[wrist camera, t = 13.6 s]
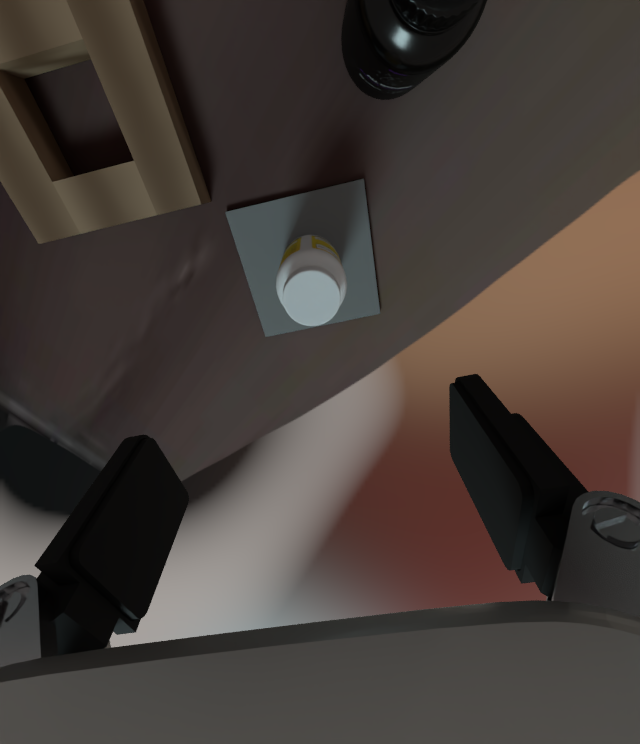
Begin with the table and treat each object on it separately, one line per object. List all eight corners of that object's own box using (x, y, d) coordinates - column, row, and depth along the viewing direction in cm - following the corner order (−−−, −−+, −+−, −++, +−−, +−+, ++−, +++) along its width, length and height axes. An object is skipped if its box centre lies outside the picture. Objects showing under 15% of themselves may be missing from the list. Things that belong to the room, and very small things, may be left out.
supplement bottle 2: (361, 120, 26) (395, 83, 15) (324, 7, 22) (336, -136, 12) (448, 71, 24) (549, -7, 14) (422, -57, 21) (528, -282, 11)
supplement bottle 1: (286, 296, 32) (277, 338, 24) (277, 236, 29) (264, 261, 21) (341, 291, 32) (352, 332, 24) (338, 231, 29) (349, 253, 21)
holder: (130, -38, 21) (105, -68, 19) (211, 201, 28) (201, 204, 26) (-61, 23, 22) (-110, 3, 20) (62, 238, 29) (39, 243, 27)
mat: (362, 178, 28) (363, 178, 27) (379, 311, 34) (380, 313, 33) (226, 211, 29) (225, 212, 28) (266, 335, 35) (265, 336, 34)
